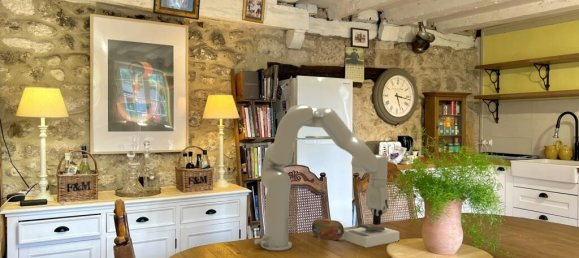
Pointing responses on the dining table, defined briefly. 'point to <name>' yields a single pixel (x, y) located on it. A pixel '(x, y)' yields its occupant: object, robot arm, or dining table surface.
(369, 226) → the rocker
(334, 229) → the tin
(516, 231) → the dining table surface
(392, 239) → the switch panel
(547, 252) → the dining table surface
